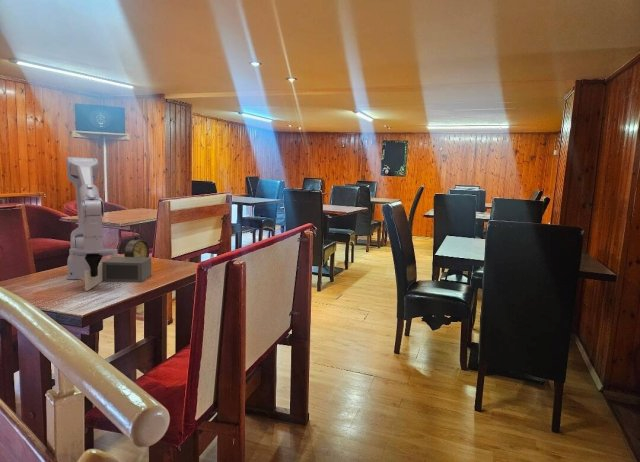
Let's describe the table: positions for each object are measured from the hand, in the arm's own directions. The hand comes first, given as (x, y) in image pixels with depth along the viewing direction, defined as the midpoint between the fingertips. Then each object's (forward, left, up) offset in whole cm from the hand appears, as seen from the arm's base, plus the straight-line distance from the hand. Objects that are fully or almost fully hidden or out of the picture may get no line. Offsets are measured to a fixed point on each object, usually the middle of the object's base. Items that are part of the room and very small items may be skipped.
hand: (94, 276), depth 142 cm
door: (-2, +3, -4) cm, 5 cm away
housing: (+5, +15, -4) cm, 16 cm away
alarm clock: (+3, +31, -5) cm, 31 cm away
